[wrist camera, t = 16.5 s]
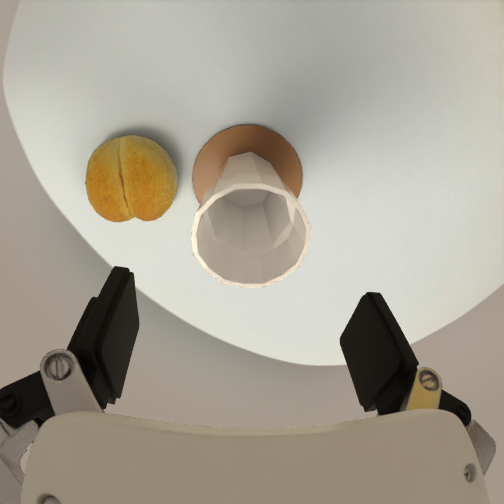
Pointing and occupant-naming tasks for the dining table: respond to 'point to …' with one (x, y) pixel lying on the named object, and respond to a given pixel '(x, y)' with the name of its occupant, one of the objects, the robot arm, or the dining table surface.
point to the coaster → (245, 141)
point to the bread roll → (131, 179)
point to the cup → (250, 225)
